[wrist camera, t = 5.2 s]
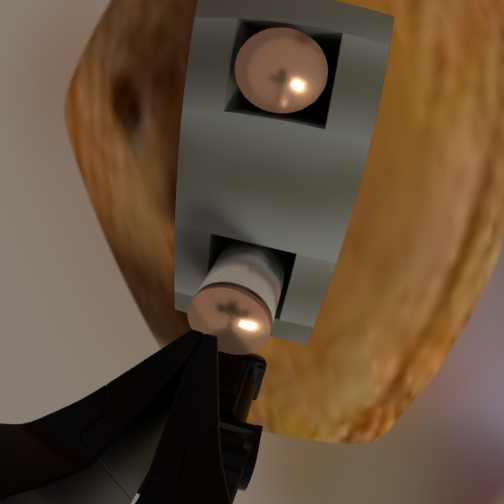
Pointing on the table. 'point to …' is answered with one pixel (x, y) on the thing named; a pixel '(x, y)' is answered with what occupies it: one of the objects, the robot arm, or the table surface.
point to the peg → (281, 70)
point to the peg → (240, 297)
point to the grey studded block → (274, 150)
